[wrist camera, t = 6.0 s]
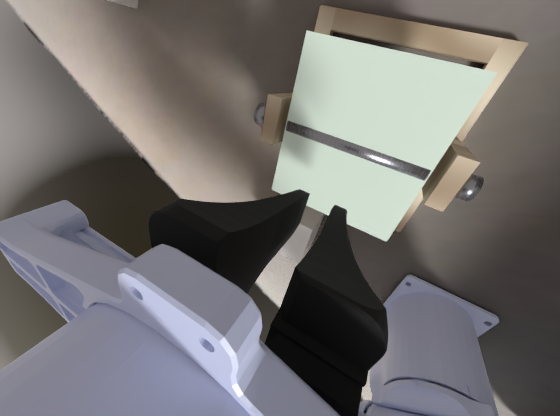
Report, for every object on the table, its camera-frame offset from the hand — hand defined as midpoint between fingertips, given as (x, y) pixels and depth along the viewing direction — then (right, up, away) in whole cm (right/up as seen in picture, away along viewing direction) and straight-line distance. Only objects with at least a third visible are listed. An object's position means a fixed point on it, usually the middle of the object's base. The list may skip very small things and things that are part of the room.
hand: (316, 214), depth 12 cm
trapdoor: (+3, +5, +3) cm, 7 cm away
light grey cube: (0, -1, +13) cm, 13 cm away
